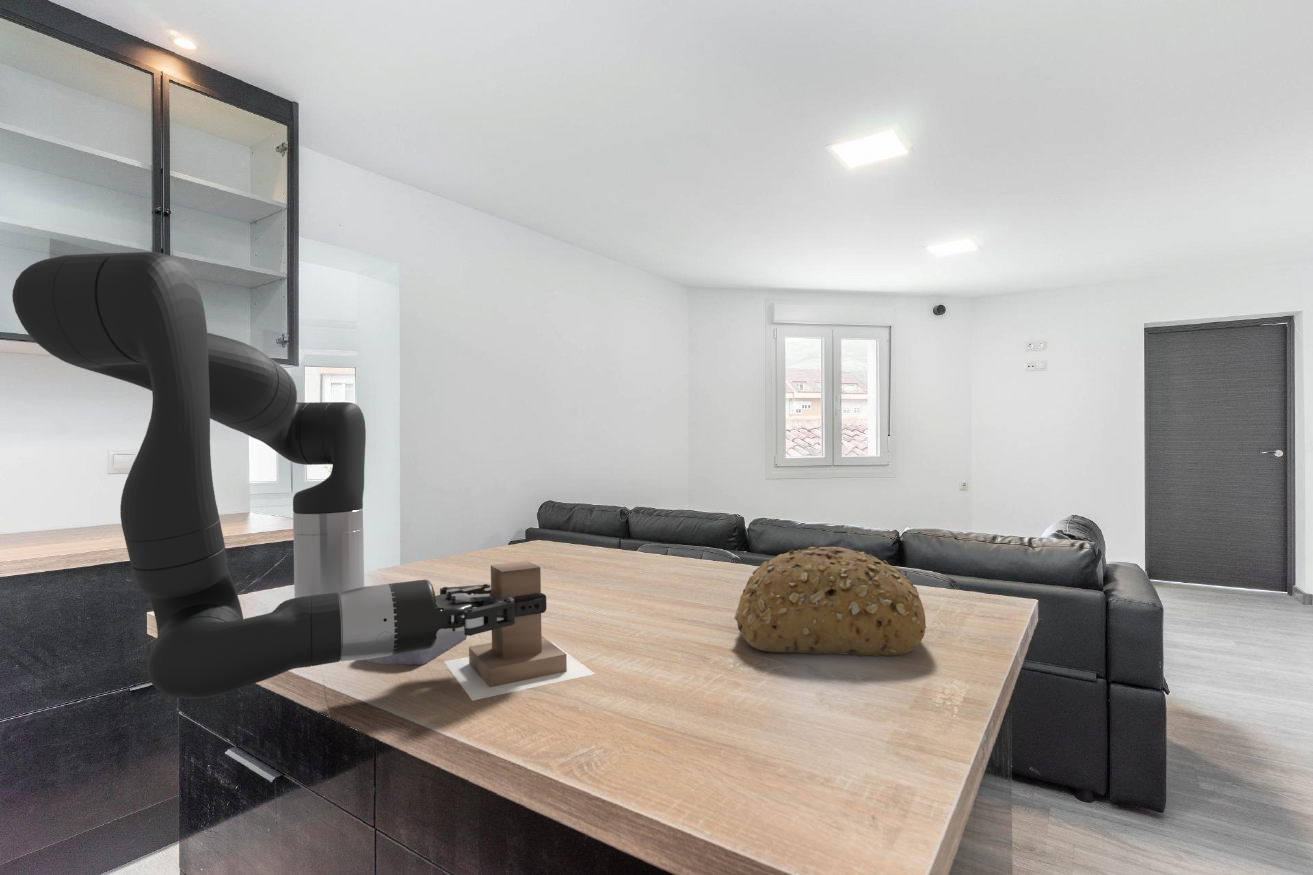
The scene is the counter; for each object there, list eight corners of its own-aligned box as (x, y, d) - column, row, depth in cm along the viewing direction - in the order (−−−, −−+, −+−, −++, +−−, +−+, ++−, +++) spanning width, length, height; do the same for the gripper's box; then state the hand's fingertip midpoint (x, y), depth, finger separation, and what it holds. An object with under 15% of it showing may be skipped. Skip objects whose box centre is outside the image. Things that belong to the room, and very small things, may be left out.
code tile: (443, 662, 79) (443, 661, 79) (551, 642, 86) (551, 641, 86) (472, 701, 67) (472, 700, 67) (595, 674, 74) (595, 673, 74)
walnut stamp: (469, 663, 78) (467, 564, 78) (540, 649, 82) (538, 556, 83) (489, 687, 70) (487, 577, 70) (566, 671, 75) (564, 567, 75)
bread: (896, 615, 96) (895, 536, 96) (943, 665, 75) (941, 563, 75) (733, 613, 99) (732, 536, 99) (734, 661, 78) (732, 562, 78)
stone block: (356, 679, 79) (429, 667, 77) (349, 640, 79) (422, 627, 78) (411, 651, 91) (475, 640, 89) (405, 617, 91) (469, 605, 89)
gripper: (395, 598, 63) (559, 577, 72) (377, 573, 75) (518, 557, 84) (396, 674, 63) (560, 644, 72) (378, 637, 75) (519, 615, 84)
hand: (537, 597), depth 78 cm, fingers closed on walnut stamp, 4 cm apart
